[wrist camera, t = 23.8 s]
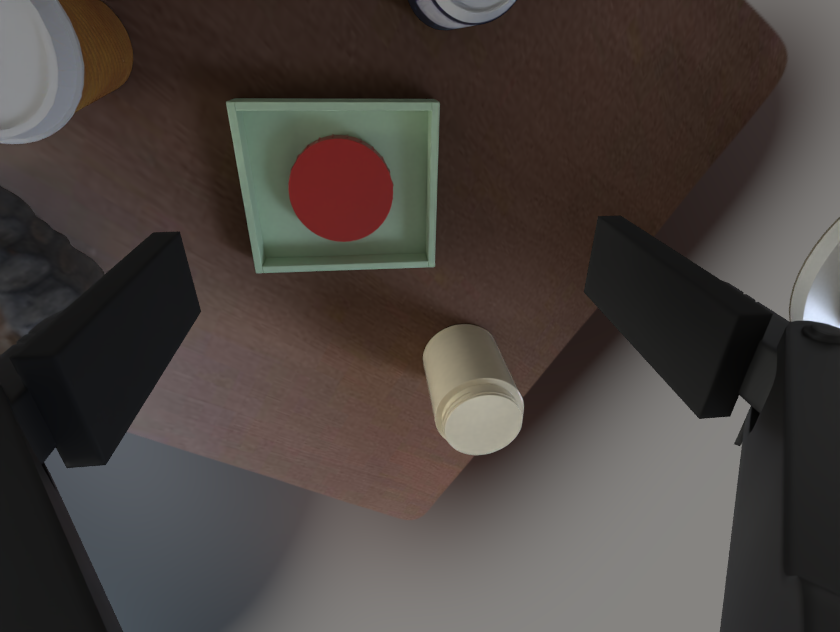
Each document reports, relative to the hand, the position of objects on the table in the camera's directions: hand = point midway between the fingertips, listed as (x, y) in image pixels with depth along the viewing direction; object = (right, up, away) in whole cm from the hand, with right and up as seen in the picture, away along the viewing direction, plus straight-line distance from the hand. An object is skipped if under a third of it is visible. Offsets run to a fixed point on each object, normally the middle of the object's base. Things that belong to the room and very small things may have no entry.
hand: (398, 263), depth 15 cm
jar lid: (-6, +8, +22) cm, 24 cm away
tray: (-6, +9, +24) cm, 26 cm away
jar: (+5, -6, +34) cm, 35 cm away
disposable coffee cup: (-23, +17, +17) cm, 33 cm away
